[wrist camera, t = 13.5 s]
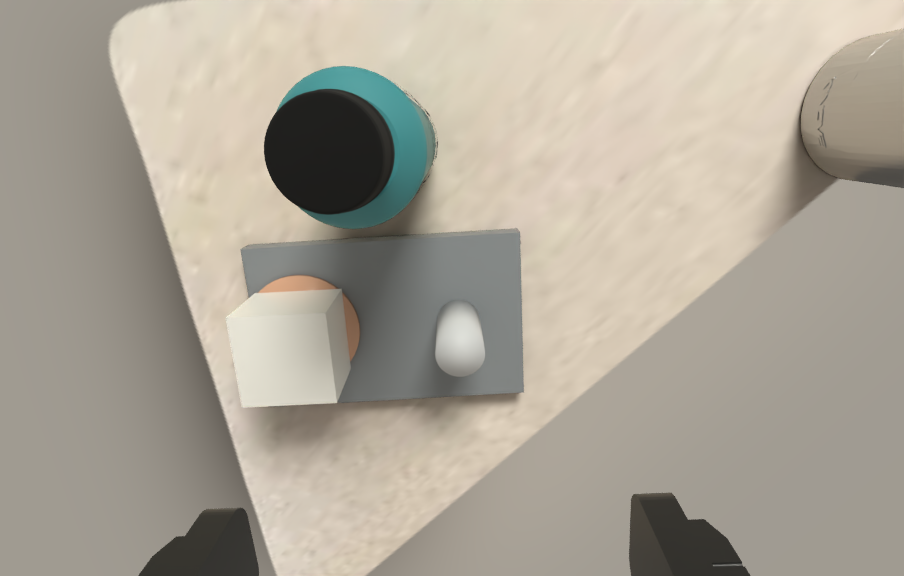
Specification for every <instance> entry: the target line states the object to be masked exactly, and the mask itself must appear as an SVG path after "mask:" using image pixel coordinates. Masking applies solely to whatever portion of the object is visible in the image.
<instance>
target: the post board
mask: <svg viewBox="0 0 904 576" xmlns="http://www.w3.org/2000/svg"><path fill="white" fill-rule="evenodd" d="M240 250H241V255H242V261H243V267H244V272H245V278H246V283H247V289H248V295H249V298H250V297H251V296H252V295H253V294H254V293H258V292H259V291H260V290H261V289H262V288H264V287H265V286H266V285H268V284H269V283H271V282H272V281H274V280H276V279H279V278H281V277H285V276H289V275H310V276H314V277H318V278H321V279H323V280H326V281H328V282H330V283H332V284H333V285H335V286H336V287H337V288H339V289H342V292H343V293H344V294H345V295H346V296H347V297H348V298H349V300H350V301H351V303H352V304H353V306H354V308H355V310H356V312H357V315H358V318H359V323H360V340H359V344H358V347H357V350H356V352H355V355H354V357H353V358H352V360H351V361H350V365H351V370H350V372H349V375H348V377H347V380H346V382H345V385H344V387H343V389H342V392H341V394H340V397H339V399H338V402H337V403H346V402H364V401H381V400H399V399H416V398H434V397H451V396H469V395H486V394H504V393H521V392H524V383H523V341H522V299H521V258H520V232H519V230H518V229H501V230H484V231H468V232H451V233H435V234H418V235H402V236H385V237H369V238H352V239H336V240H319V241H303V242H286V243H270V244H253V245H247V246H245V247H244V248H242V249H240ZM327 404H329V403H327ZM307 405H312V404H307ZM287 406H294V405H287ZM268 407H277V406H268Z"/></svg>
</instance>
